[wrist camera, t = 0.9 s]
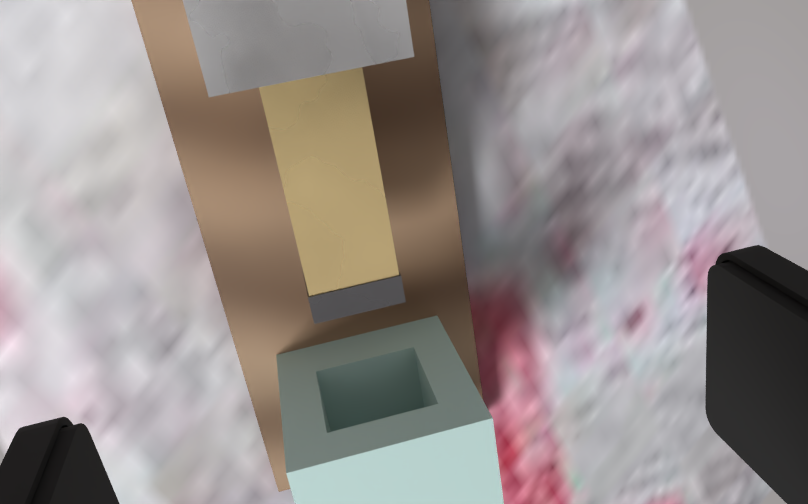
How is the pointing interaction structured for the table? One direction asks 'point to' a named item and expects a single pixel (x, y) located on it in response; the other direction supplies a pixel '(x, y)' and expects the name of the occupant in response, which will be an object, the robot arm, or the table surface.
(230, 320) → the walnut base board
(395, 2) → the steel sleeve
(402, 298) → the brass inner tube
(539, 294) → the table surface
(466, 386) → the sage socket block
